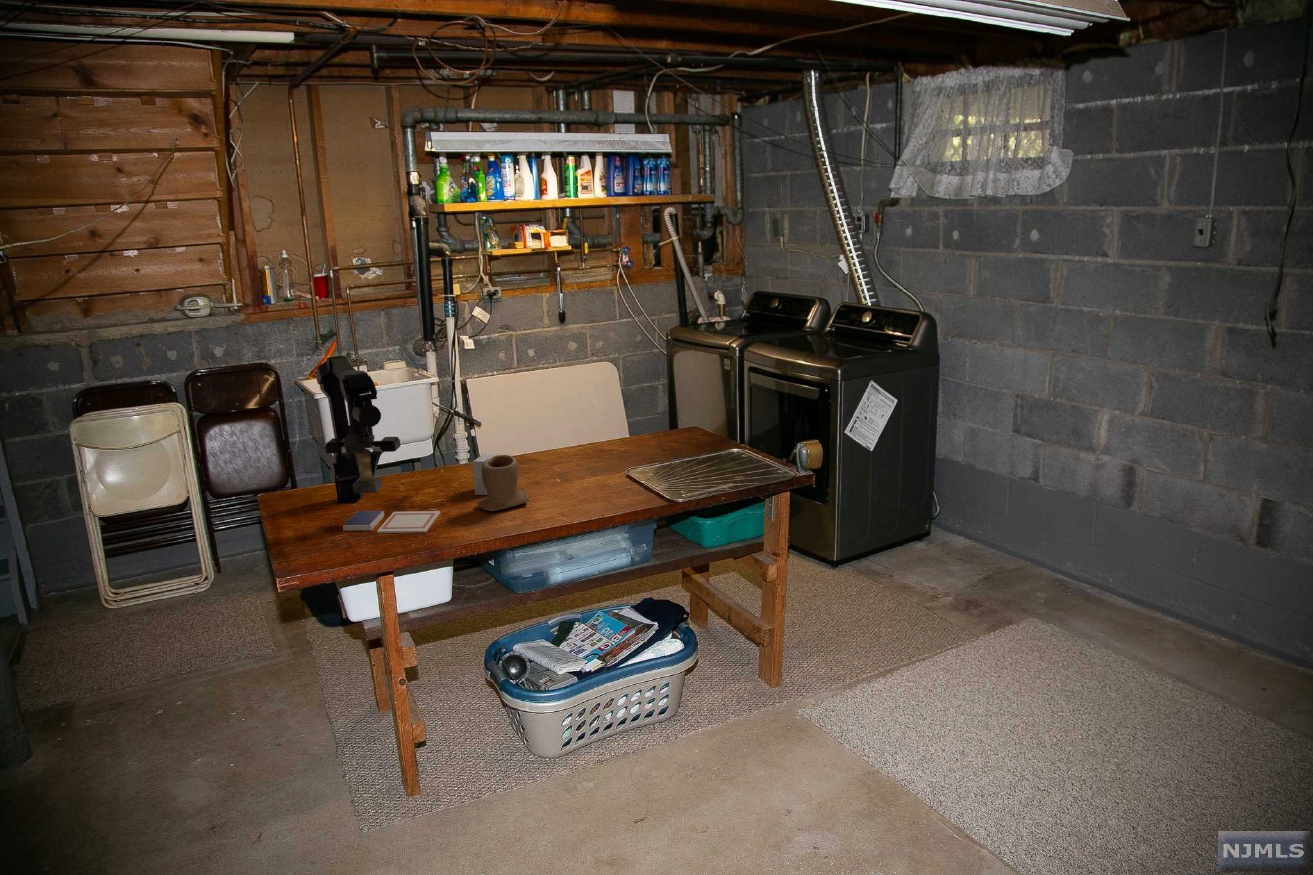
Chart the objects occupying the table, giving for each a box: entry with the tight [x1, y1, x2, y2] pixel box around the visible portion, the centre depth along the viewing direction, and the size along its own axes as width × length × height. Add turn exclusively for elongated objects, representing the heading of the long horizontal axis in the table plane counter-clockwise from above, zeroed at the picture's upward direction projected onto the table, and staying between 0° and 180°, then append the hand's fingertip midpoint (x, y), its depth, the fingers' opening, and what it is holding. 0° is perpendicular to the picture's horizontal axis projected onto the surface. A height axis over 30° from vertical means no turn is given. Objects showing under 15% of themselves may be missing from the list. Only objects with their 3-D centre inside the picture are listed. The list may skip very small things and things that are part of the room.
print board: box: [376, 510, 441, 534], centre depth 248 cm, size 13×15×1 cm
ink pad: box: [342, 510, 385, 532], centre depth 248 cm, size 8×11×2 cm
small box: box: [472, 453, 498, 496], centre depth 271 cm, size 8×6×10 cm
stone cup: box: [477, 454, 531, 512], centre depth 257 cm, size 15×12×15 cm
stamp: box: [353, 448, 383, 494], centre depth 246 cm, size 6×6×12 cm
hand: (366, 475), depth 247 cm, fingers closed on stamp, 4 cm apart
